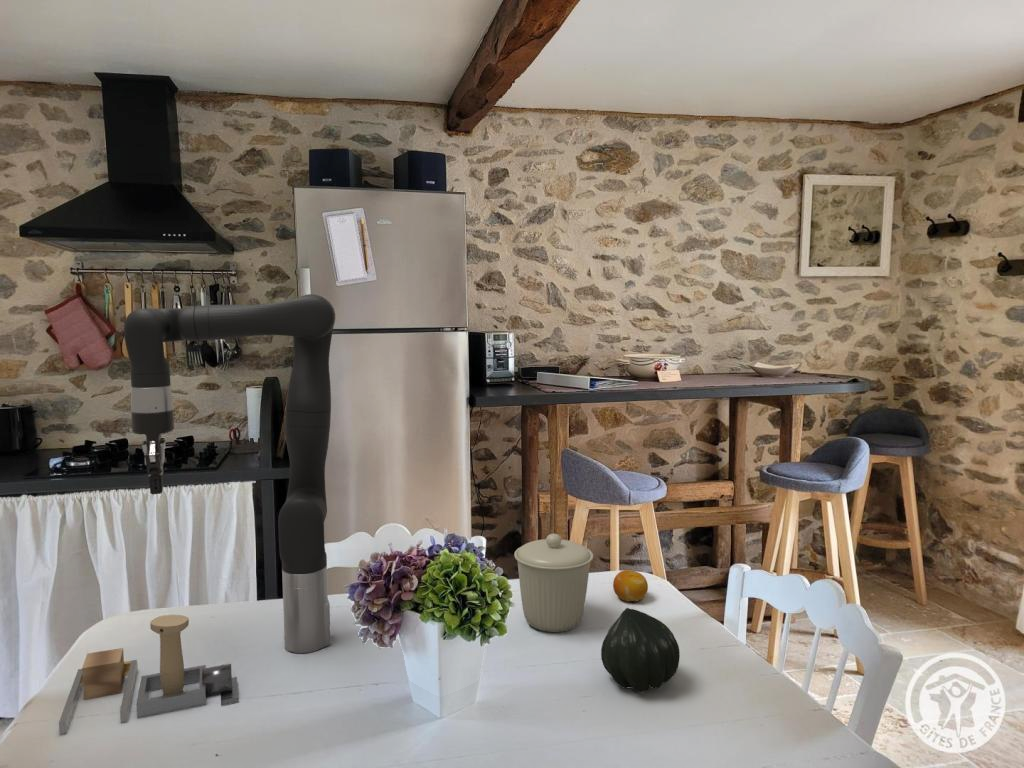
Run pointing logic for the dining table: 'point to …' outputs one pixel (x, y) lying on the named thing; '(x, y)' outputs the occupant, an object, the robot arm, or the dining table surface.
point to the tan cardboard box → (103, 673)
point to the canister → (553, 582)
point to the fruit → (630, 585)
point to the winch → (209, 684)
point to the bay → (75, 691)
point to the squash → (640, 651)
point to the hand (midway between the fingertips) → (156, 493)
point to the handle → (170, 651)
